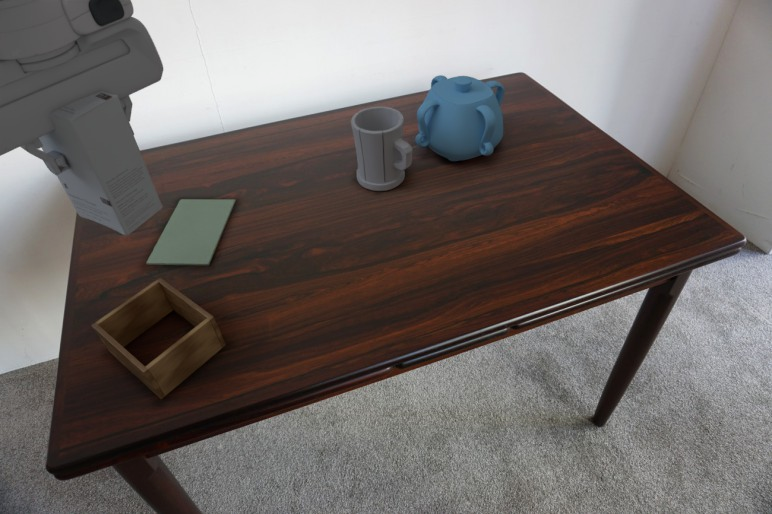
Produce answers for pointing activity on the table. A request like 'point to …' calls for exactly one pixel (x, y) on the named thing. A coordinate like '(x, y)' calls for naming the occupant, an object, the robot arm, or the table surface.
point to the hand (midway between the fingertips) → (94, 152)
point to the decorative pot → (461, 117)
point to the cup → (380, 148)
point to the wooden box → (143, 315)
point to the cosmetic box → (102, 163)
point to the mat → (192, 232)
